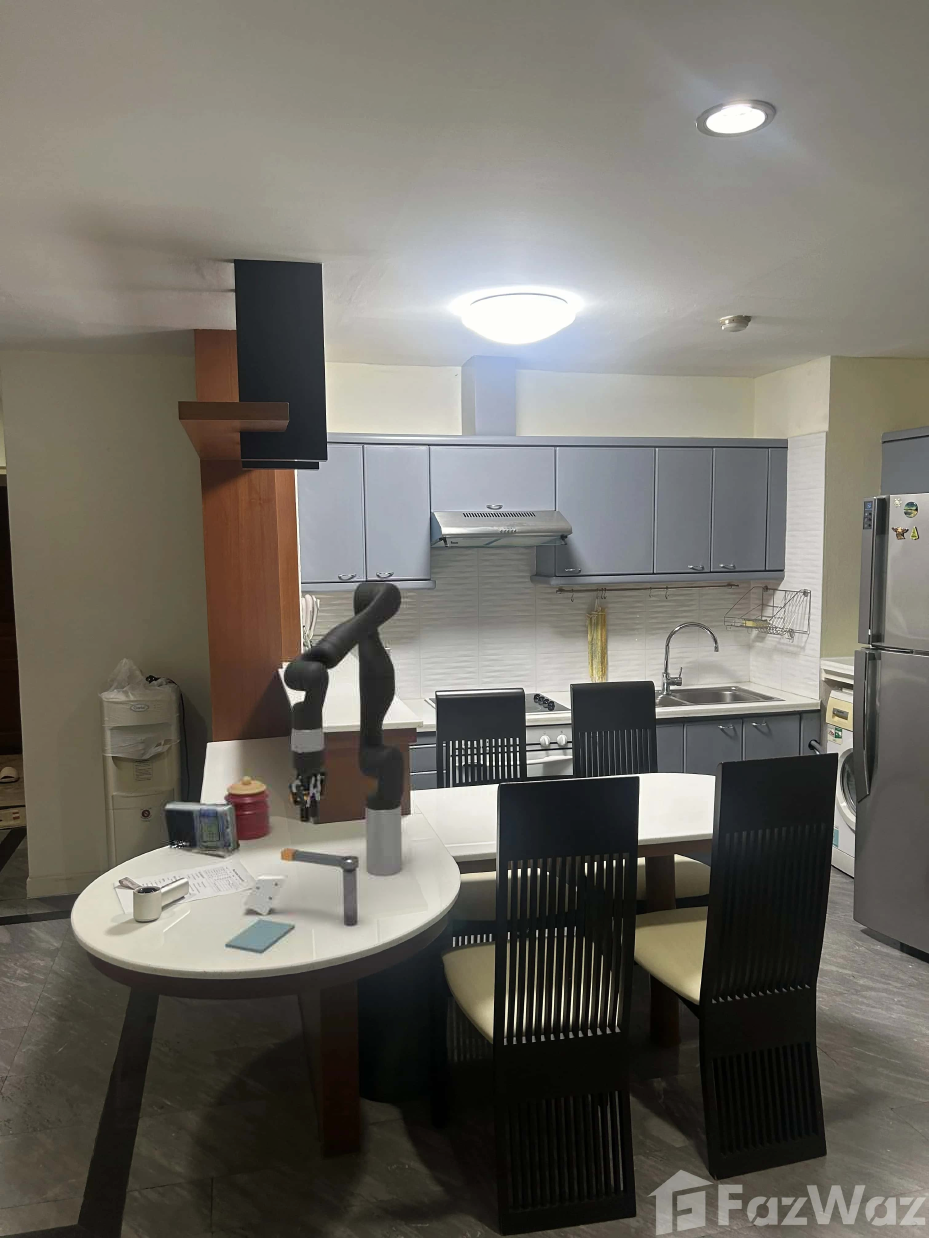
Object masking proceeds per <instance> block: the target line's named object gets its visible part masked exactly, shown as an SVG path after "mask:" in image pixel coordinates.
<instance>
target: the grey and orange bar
mask: <svg viewBox="0 0 929 1238" xmlns="http://www.w3.org/2000/svg"><path fill="white" fill-rule="evenodd" d="M280 860H281V861H287V862H300V863H306V864H314V865H321V866H331V867H335V868H340V869H342V870H343V869H344V870H353V869H356V870H357V869H358V868H359V867H360V865H359V862H360V861H359V856H357V855H345V856H343V855H338V854H329V853H322V852H316V851H315V852H314V851H313V852H312V851H305V850H299V849H296V848H289V847H286V848H284V849H283V850H281V851H280Z"/></svg>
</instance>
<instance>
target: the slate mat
mask: <svg viewBox="0 0 929 1238" xmlns="http://www.w3.org/2000/svg"><path fill="white" fill-rule="evenodd" d="M295 928H296V926H295V924H292V923H286V922H280V921H273V920H269V919H268V920H267V919H263V918H262V919H261V918H260V919H258V920H257V921H255V922H254V923H252V924H251V925H250V926H248V927H247V928H244V930H242V931H241V932H240V933H237V935H236V936H234V937H233V938H231V939H229V940H228V941H227V942H225V945H224V946H225V947H226V948H229V949H234V950H241V951H247V952H250V953H251V952H252V953H257V954H261V955H263V954H264V953H265V952H266V951H267V950H268V949H270V948H272V947H273V946H274V945H275V944H276V943H277V942H279V941H280V940H281V939H282V938H284V937H285V936H287V935H288V934H289V933H291V932H292V931H293V930H294V929H295Z"/></svg>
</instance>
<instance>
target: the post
mask: <svg viewBox="0 0 929 1238" xmlns="http://www.w3.org/2000/svg"><path fill="white" fill-rule="evenodd" d="M357 871H358V870H357V868H356V869H353V870H344V869H342V880H343V881H342V884H343V885H342V886H343V887H342V888H343V893H342V894H343V925H344V926H346V927H354V926H356V925H357V924H358V885H357V884H358V883H357V882H358V881H357V880H358V879H357V878H358V877H357Z"/></svg>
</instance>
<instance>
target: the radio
mask: <svg viewBox="0 0 929 1238" xmlns="http://www.w3.org/2000/svg"><path fill="white" fill-rule="evenodd" d="M164 817H165V822H166V829H167V834H168V841H169V842H168V843H169V848H170V847H172V846H175V845H177V846H176V847H174V848H173V849H175V850H179V849H180V851H182V850H183V851H184V852H189V853H193V854H199V855H205V856H210V857H214V858H215V857H216V858H219V859H220V858H221V859H226V858H229V857H231V856H234V855H235V854H238V853H239V852H240V851H241V849H240V848H241V843H240V842H239V841H240V840H238V838H237V834H236V821H235V809H234V804H233V803H229V804H226V803H203V802H183V801H172V802H171V801H170V802H167V803H165V807H164ZM183 843H185V844H183ZM179 844H182V845H179ZM179 847H180V848H179ZM176 848H178V849H176Z"/></svg>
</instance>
